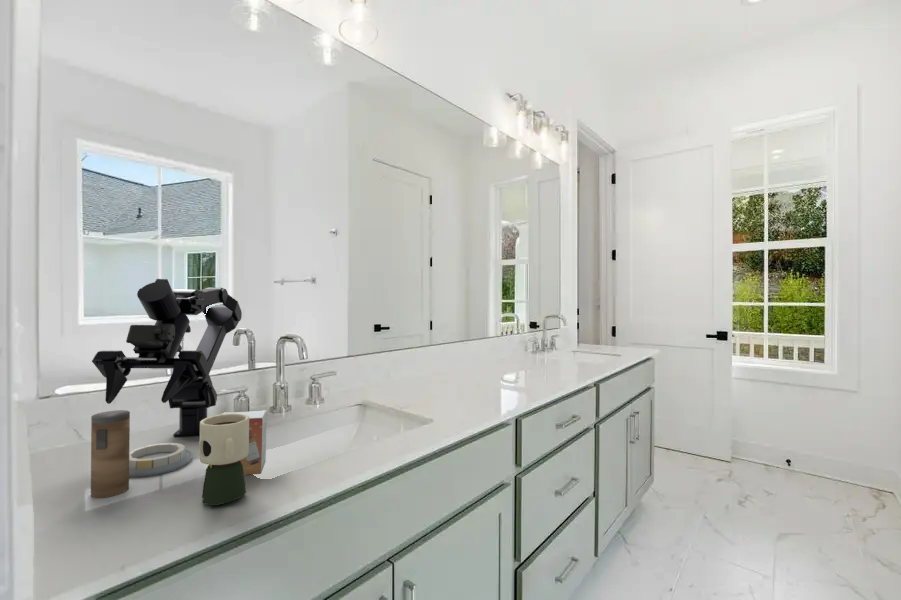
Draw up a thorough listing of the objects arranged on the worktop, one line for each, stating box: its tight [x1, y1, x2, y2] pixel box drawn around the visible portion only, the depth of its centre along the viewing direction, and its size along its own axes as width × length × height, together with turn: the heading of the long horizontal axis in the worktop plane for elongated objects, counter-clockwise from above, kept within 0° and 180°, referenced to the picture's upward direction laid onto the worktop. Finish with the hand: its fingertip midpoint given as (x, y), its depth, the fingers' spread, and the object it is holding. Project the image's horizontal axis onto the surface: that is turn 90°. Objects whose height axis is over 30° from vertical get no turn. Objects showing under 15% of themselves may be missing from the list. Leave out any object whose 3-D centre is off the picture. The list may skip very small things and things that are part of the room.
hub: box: [129, 442, 193, 478], centre depth 83 cm, size 12×12×2 cm
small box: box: [220, 409, 268, 476], centre depth 81 cm, size 8×6×10 cm
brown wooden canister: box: [90, 409, 131, 499], centre depth 71 cm, size 6×5×13 cm
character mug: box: [198, 413, 249, 506], centre depth 70 cm, size 11×7×13 cm, turn 35°
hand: (135, 402), depth 79 cm, fingers open, 9 cm apart
